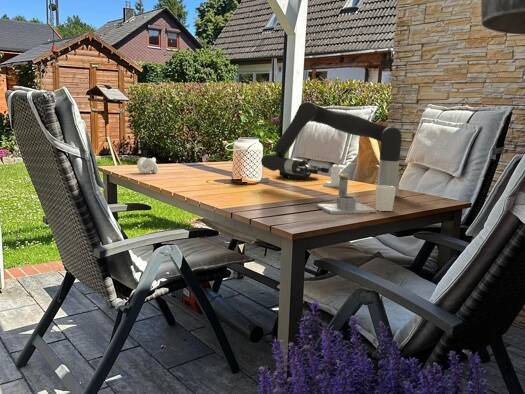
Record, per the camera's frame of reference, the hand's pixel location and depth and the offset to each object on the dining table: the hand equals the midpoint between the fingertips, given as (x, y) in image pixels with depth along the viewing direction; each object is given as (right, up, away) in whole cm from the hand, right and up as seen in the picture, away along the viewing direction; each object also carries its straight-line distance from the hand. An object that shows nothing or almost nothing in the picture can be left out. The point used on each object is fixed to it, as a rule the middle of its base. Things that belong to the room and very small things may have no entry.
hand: (323, 171), depth 227 cm
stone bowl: (-8, -1, +64) cm, 64 cm away
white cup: (+23, -18, -22) cm, 36 cm away
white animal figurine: (-95, +2, +59) cm, 112 cm away
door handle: (-35, -4, +42) cm, 55 cm away
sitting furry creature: (+10, -6, +35) cm, 37 cm away
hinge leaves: (+6, -17, -24) cm, 30 cm away
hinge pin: (+8, -14, -5) cm, 17 cm away
